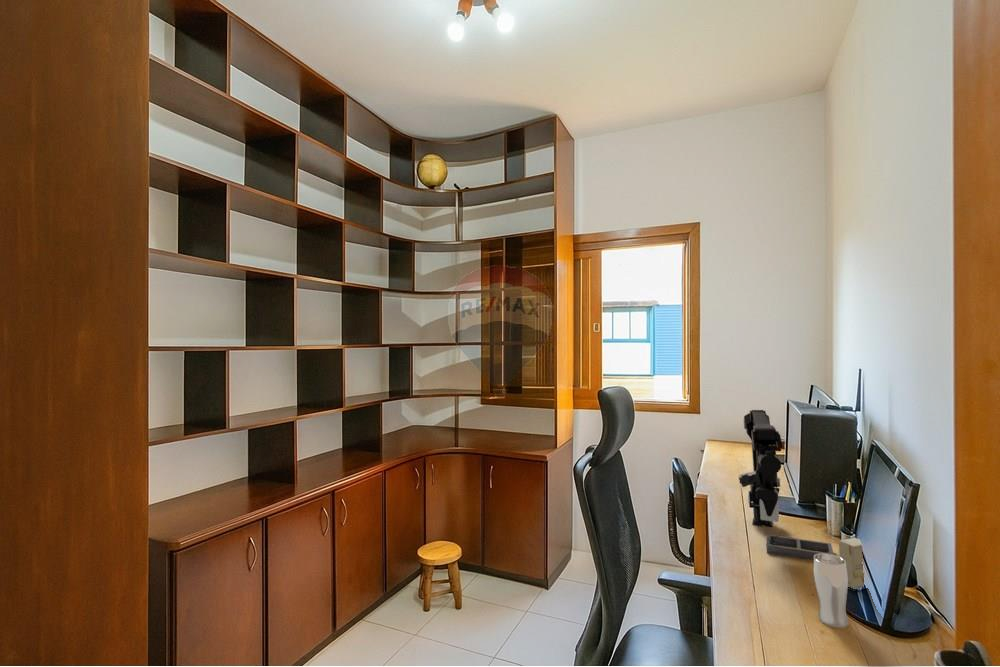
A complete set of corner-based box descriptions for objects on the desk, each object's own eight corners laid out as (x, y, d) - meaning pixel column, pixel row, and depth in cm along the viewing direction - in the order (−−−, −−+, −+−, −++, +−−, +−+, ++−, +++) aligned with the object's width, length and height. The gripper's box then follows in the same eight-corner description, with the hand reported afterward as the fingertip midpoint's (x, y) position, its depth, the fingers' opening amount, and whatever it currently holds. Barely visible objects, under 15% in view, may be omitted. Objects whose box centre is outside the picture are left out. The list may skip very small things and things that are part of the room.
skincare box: (855, 592, 129) (852, 546, 129) (840, 584, 133) (837, 540, 134) (873, 587, 131) (870, 542, 131) (857, 580, 135) (854, 536, 135)
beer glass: (836, 612, 120) (832, 552, 121) (858, 628, 113) (854, 564, 114) (809, 614, 120) (805, 553, 120) (829, 630, 113) (825, 566, 113)
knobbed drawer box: (761, 514, 160) (760, 494, 160) (778, 516, 157) (777, 496, 157) (760, 519, 156) (759, 498, 156) (778, 522, 153) (777, 500, 153)
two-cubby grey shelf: (767, 541, 163) (767, 534, 163) (831, 551, 154) (831, 543, 154) (766, 552, 155) (766, 545, 155) (834, 563, 145) (833, 555, 145)
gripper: (742, 457, 169) (744, 501, 169) (736, 470, 153) (739, 519, 153) (778, 460, 163) (781, 506, 163) (776, 473, 147) (779, 524, 147)
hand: (769, 513), depth 157 cm, fingers closed on knobbed drawer box, 5 cm apart
